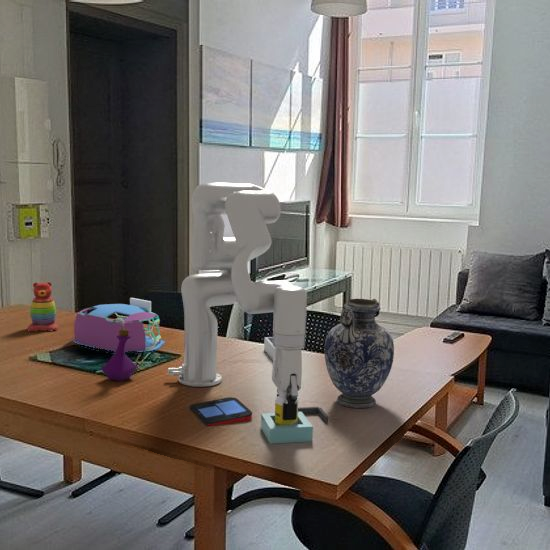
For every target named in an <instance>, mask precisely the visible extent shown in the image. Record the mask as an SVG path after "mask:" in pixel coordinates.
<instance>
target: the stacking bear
mask: <svg viewBox="0 0 550 550" xmlns="http://www.w3.org/2000/svg"><path fill="white" fill-rule="evenodd" d="M32 286H33V289H32V290H33V291H32V292H33V295H34V298H33V299H32V301H31V303H30V308H29V314H30V318H31V324H29V325H28V326H27V328H26V329H27V330H29V331H28V332H30V331H35V332H38V331H37V330H48V331H47V332H54V331H53V330H56V331H57V330H58V328H59V327H58V325H57V323H56V322H55V321H56V317H57V308H56V304H55V301H54V299H53V297H51V296H52V292H53V289H52V283H51V282H49V281H48V282H34V283H33V285H32ZM27 330H26V331H27ZM51 330H52V331H51Z"/></svg>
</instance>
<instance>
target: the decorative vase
mask: <svg viewBox="0 0 550 550" xmlns="http://www.w3.org/2000/svg"><path fill="white" fill-rule="evenodd" d="M343 308H344V309H342V310H341V311H340V315H339V316H340V317H339V322H340V323H338V324H337V325H335V326H334V327H332V328H331V329H330V330H329V332H328V333H327V334H326V337H325V340H324V342H325V343H324V361H325V366H326V371H327V373H328V375H329V378H330V381H331V382H332V384H333V386H334V387H335V389H337V391H339V392H340V393H341V394H339V395H337V398H336V402H337V403H338V404H339V405H340V406H343V407H345V408H350V409H369V408H373V407H375V405H376V403H377V400H376V398H375V397H374V396H373V395H374V394H376V393H378V392H379V391H380V390H381V388H382V387H383V386H384V385H385V383H386V381H387V379H388V378H389V375H390V372H391V370H392V367H393V364H394V363H393V362H394V357H395V345H394V340H393V337H392V335H391V333H390V332H389V331H388V330H387V329H386V328H385V327H383V326H381V325H379V324H378V323H377V322H376V317H378V316H380V311H381V306H380V303H379V301H378V300H377V299H376V298H372V299H368V298H367V299H366V298H351V299H348V300H347V302H346V303H344V305H343Z"/></svg>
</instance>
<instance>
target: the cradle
mask: <svg viewBox="0 0 550 550" xmlns="http://www.w3.org/2000/svg"><path fill="white" fill-rule="evenodd" d="M298 412H302V413H303V414H304V415H311V414H312V415H313V414H314V413H316V414H317V415H318V416H319V417H320V418H321V419H322V421H323V422H324V423H329V415H328V414H327V413H326V411H325V410H324V409H323V408H322V407H319V406H308V407H305V406H304V407H298Z"/></svg>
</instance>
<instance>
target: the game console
mask: <svg viewBox="0 0 550 550" xmlns="http://www.w3.org/2000/svg"><path fill="white" fill-rule="evenodd" d="M189 409H190V410H191V412H192V413H194V415H195V416H196V417H197V418H198V419H199V420H200V422H201V423H203V424H204V425H205V426H206V427H211V426H219V425H225V424H226V425H227V424H233V423H242V422H248V421H251V420H252V417H253V411H251V410H250V409H249V408H248V407H247V406H246V405H245V404H243V403H242V402H241V401H240V400H239V399H238V398H237V397H234V396H233V397H231V396H229V397H224V398H218V399H214V400H208V401H203V402H198V403H193V404H190V405H189Z"/></svg>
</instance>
